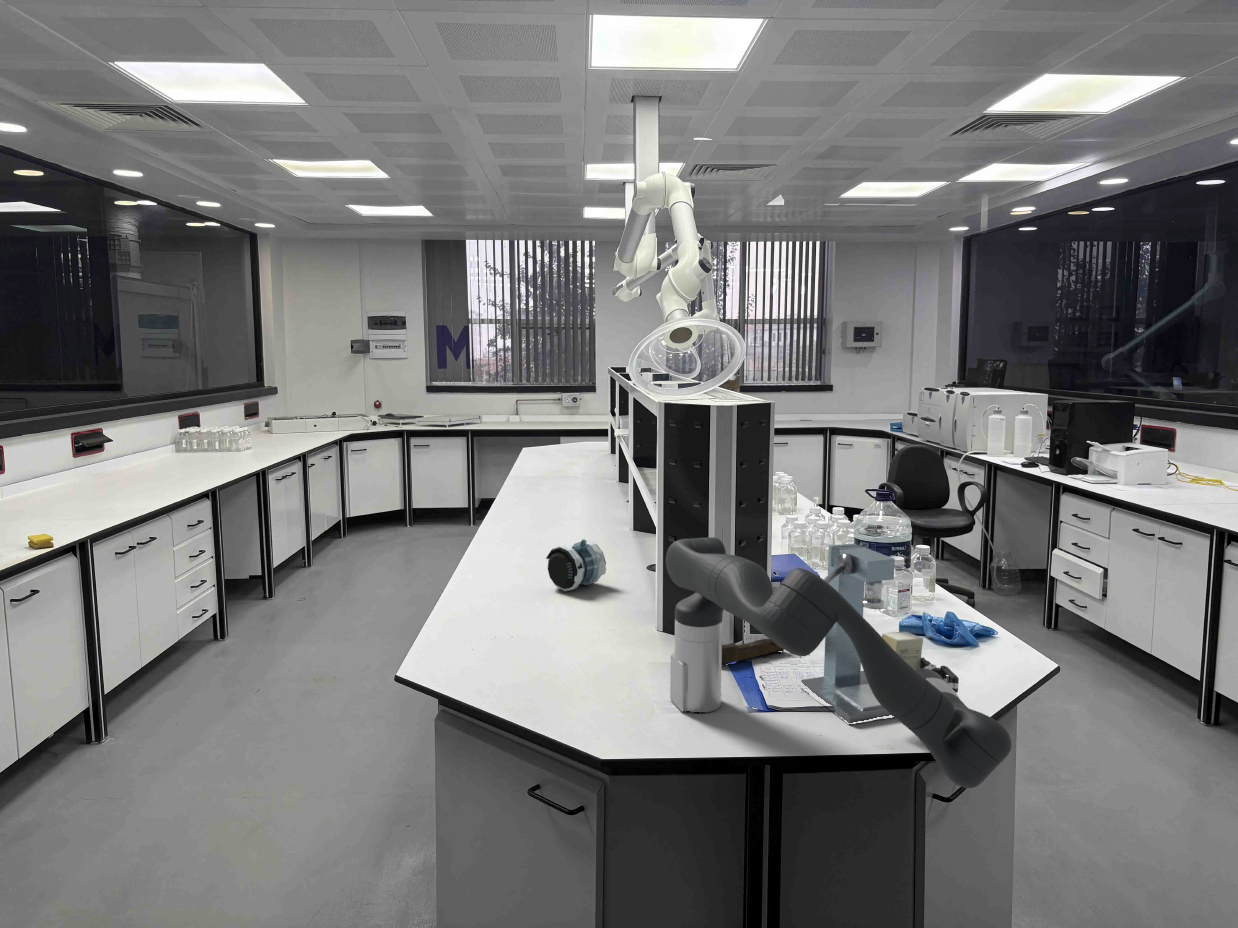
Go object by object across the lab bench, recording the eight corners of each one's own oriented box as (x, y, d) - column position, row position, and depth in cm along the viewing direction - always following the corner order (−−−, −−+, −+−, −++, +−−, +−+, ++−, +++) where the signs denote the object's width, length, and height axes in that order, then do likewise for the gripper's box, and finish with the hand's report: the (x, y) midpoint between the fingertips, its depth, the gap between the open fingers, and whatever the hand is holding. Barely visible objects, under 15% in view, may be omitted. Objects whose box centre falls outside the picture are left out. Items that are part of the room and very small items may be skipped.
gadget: (560, 601, 229) (585, 567, 222) (536, 567, 235) (559, 533, 227) (594, 590, 240) (618, 557, 232) (570, 559, 246) (593, 525, 238)
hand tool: (773, 649, 187) (774, 629, 187) (784, 654, 184) (785, 635, 183) (706, 663, 178) (706, 644, 178) (716, 670, 175) (717, 649, 174)
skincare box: (899, 694, 149) (907, 630, 148) (916, 703, 145) (925, 637, 145) (873, 696, 147) (881, 632, 146) (890, 706, 143) (898, 639, 142)
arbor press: (821, 729, 147) (827, 571, 142) (775, 692, 162) (779, 549, 158) (920, 713, 153) (929, 561, 149) (867, 679, 169) (873, 540, 165)
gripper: (885, 721, 130) (858, 681, 147) (974, 723, 130) (937, 682, 146) (888, 677, 129) (860, 641, 146) (977, 679, 129) (940, 642, 145)
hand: (899, 662), depth 146 cm, fingers closed on skincare box, 7 cm apart
